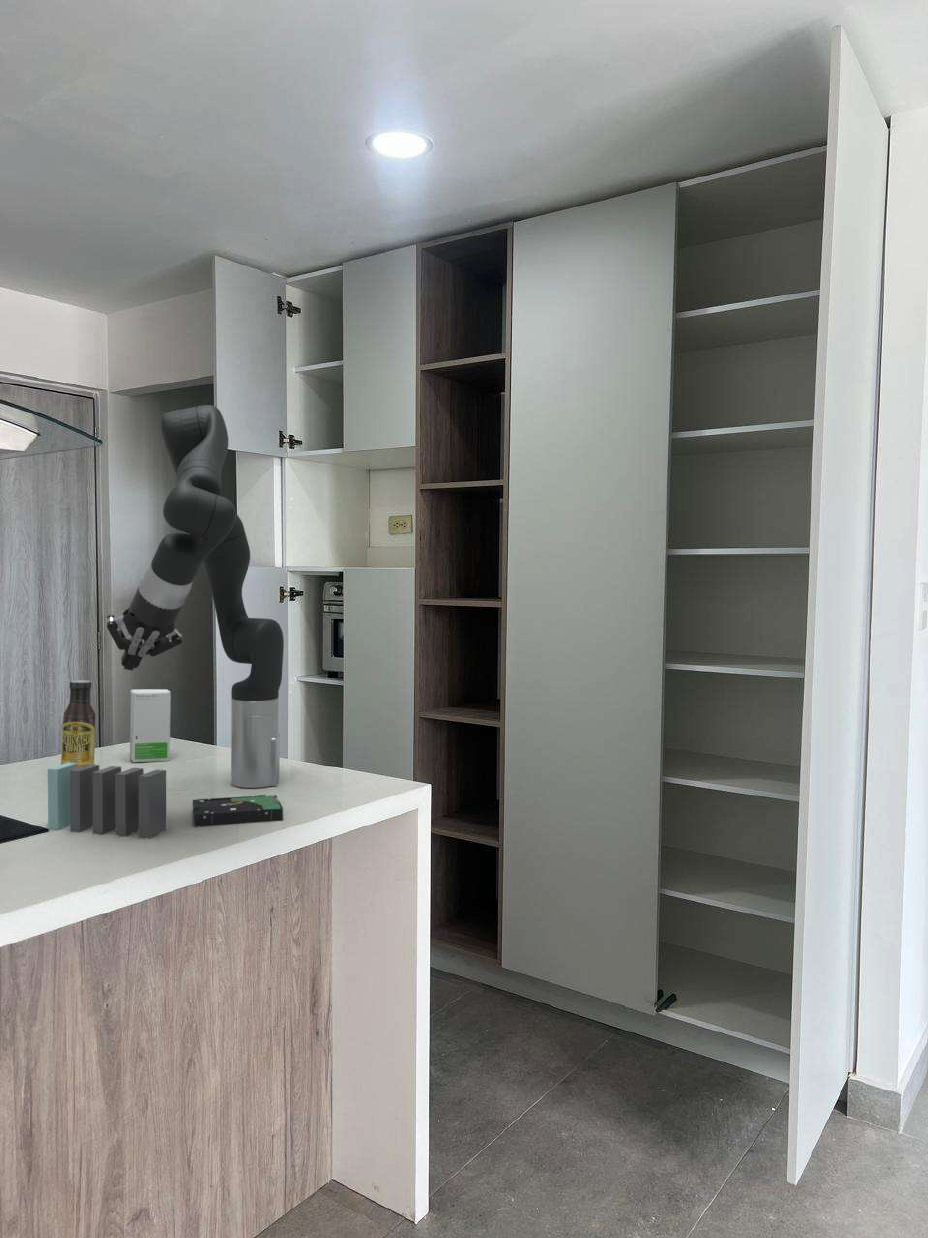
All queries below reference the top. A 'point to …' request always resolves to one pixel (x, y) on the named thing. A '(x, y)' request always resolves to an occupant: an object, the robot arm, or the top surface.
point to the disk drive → (237, 810)
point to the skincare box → (150, 725)
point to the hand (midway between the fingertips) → (128, 666)
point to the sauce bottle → (78, 726)
